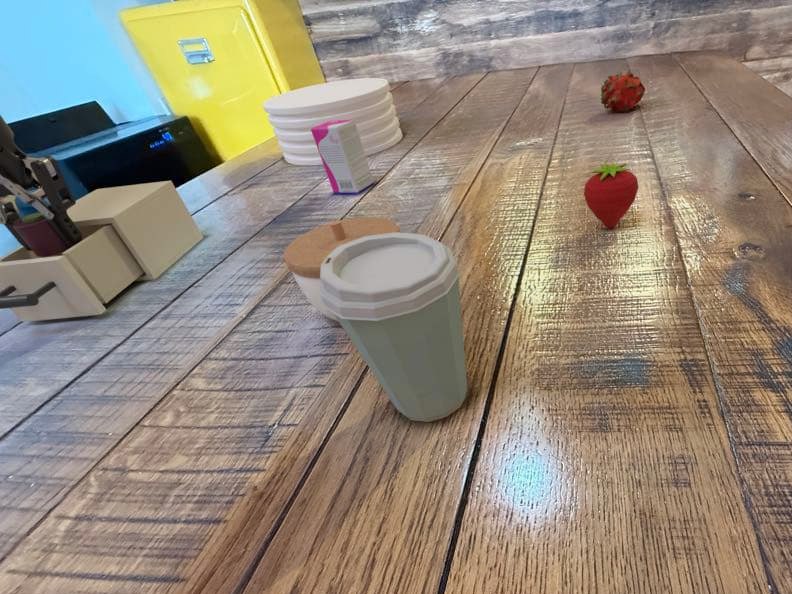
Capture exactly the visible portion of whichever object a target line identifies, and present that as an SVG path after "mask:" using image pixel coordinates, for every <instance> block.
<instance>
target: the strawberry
mask: <svg viewBox="0 0 792 594" xmlns="http://www.w3.org/2000/svg"><path fill="white" fill-rule="evenodd" d="M611 156H612V154H610V155H609V156H608V158H607V159H606V160H605V162H604V164H602V163H600V168H598V169H594V170H592V171H591V170H590V171H589V174H594V175H592V176H591V177H590V178H589V179H588V180H587V181H586V183H584V190H583V196H584V199H585V202H586V205H587V207H588V209H590V211H591V212H592V214H593V215H594V216H595V217H596V218H597V219H598V220H599V221H600V222H601V223H602V224H603V226H605V227H606V228H607V229H612V228H615V227H616V226H617V225H618V223H619V222H620V220H621V219H622V218H623V217H624V216H625V215H626V214H627V212H628V211H629V210H630V208H631V206H633V203H634V202H635V200H636V196H637V194H638V190H639V183H638V177H637V176H636V175H635V174H634V173H633V172H631V169H630V168H626V166H627V165H628V163H624V164H623V163H622V164H618V165H616V164H615V163H612V164H607V162H608V161H609V160H610V158H611Z"/></svg>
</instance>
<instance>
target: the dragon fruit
mask: <svg viewBox="0 0 792 594" xmlns="http://www.w3.org/2000/svg"><path fill="white" fill-rule="evenodd" d="M607 78H608V79H606V80H605V81H604V82H603V85H601V87H600V89H601V90H600V92H601V94H600V97H601V98H600V102H601V104H602V105H603V107H604V109H610V110H611V111H612V113H614V114H616V113H617V112H619V110H620V111H621V112H625V113H626V112H628V111H629V110H636V109H638V108H639V104H638V103H639V102H641V101H642V99H643V97H644V96H645V93H646V88H645V86H644V84H643V83H642V80H641V78H640V76H634V73H633V72H632V71H627V73H626V74H623V72H621V71H619V72H618V74H616V75H615V76H614V75H611V74H610V75H608V76H607Z"/></svg>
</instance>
